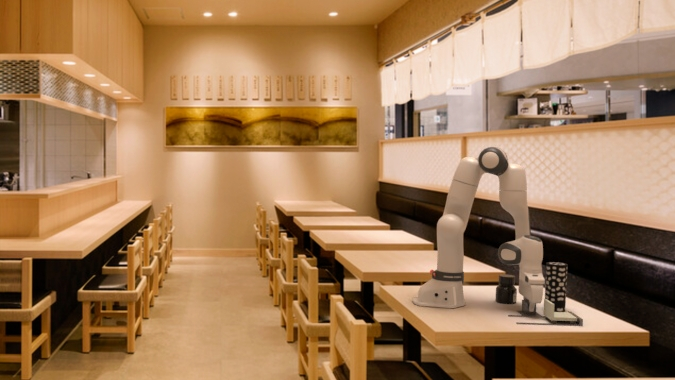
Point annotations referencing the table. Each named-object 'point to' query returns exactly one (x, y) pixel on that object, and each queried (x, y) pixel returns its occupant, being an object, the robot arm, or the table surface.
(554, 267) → the white-spotted black cylinder
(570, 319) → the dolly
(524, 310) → the steel block
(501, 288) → the ink bottle
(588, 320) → the table surface
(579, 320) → the track
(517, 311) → the station pad
